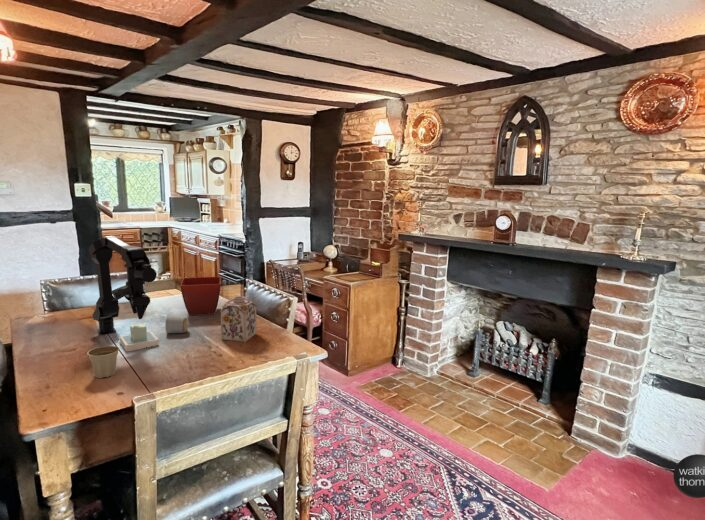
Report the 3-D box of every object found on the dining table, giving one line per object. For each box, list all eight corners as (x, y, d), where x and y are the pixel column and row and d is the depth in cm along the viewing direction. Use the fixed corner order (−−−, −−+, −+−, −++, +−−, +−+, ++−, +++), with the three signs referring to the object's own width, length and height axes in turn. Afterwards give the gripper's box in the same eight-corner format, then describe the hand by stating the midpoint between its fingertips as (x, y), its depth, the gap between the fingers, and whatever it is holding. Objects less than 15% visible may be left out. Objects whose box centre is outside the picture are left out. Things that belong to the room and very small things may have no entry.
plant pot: (184, 307, 224) (183, 277, 221) (221, 306, 230) (220, 276, 227) (181, 318, 206) (179, 285, 203) (221, 316, 212) (220, 283, 209)
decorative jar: (245, 342, 176) (245, 301, 173) (220, 340, 178) (219, 299, 175) (257, 333, 187) (257, 295, 184) (233, 331, 190) (233, 293, 187)
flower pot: (97, 368, 147) (96, 345, 145) (125, 368, 148) (124, 345, 146) (83, 380, 138) (81, 356, 136) (112, 380, 138) (111, 355, 137)
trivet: (120, 342, 172) (119, 336, 171) (151, 336, 179) (150, 330, 179) (126, 351, 163) (125, 345, 162) (158, 345, 170) (158, 338, 170)
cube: (130, 337, 171) (130, 325, 170) (144, 334, 174) (143, 323, 173) (133, 340, 167) (132, 328, 166) (146, 338, 170) (146, 326, 169)
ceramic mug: (184, 335, 183) (184, 318, 181) (165, 335, 181) (164, 318, 180) (190, 327, 193) (190, 311, 192) (172, 328, 192) (171, 312, 191)
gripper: (108, 277, 168) (110, 313, 171) (117, 285, 154) (120, 325, 157) (138, 274, 175) (140, 309, 178) (149, 282, 161) (151, 320, 164)
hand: (137, 316), depth 169 cm, fingers open, 9 cm apart
